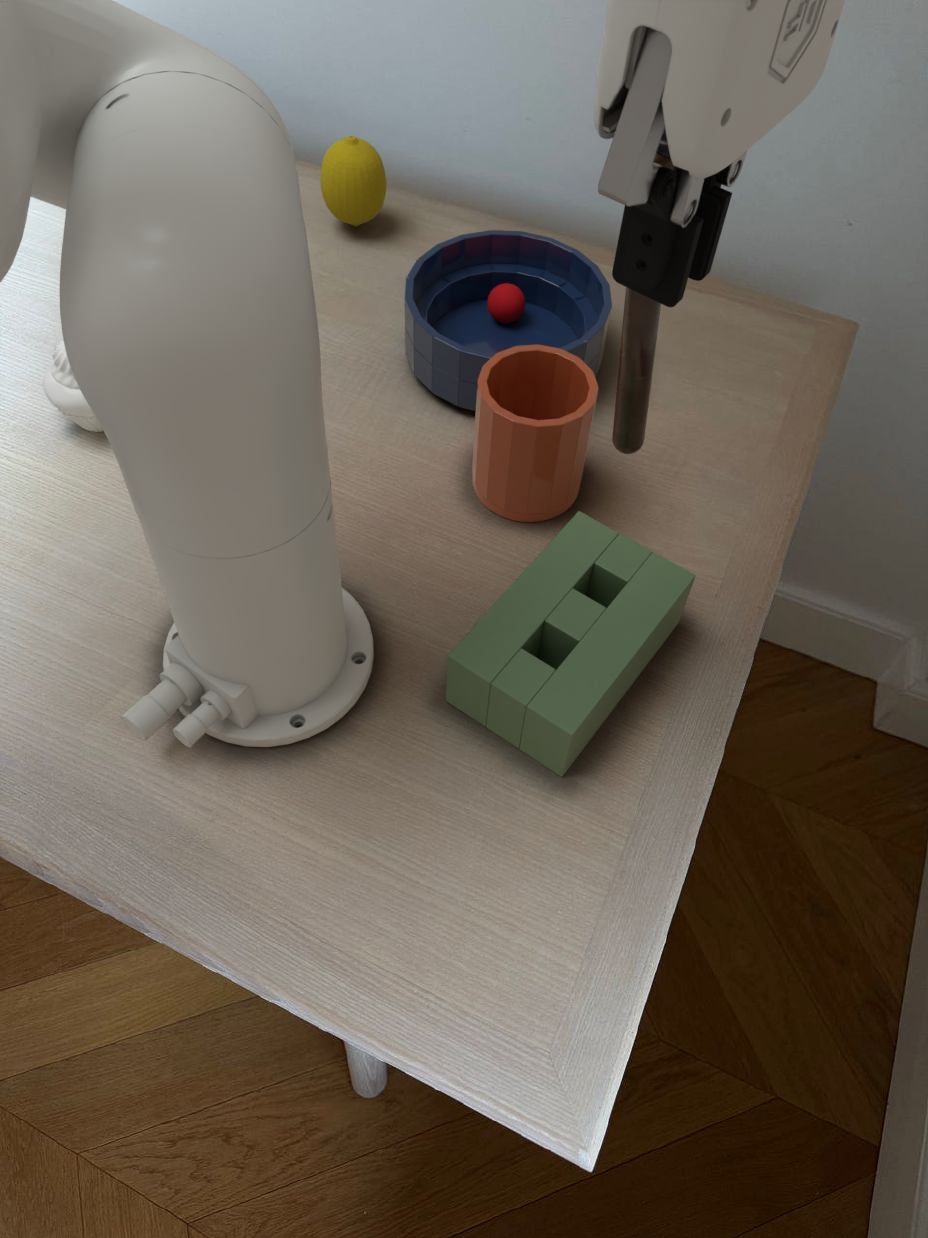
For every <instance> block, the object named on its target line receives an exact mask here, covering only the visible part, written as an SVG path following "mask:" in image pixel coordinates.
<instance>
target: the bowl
mask: <svg viewBox="0 0 928 1238" xmlns="http://www.w3.org/2000/svg"><path fill="white" fill-rule="evenodd" d="M504 283H509V284H513V285H515V286H517V287H518V288H519V289H520V290H521V291H522V292H523V294H524V297H525V309H524V312H523V314H522V315H521V316H520V318H518V319H517V320H516V321H514V322H511V323H501V322H498V321H496V320H495V319H494V318H493V317H492V316H491V315H490V313H489V310H488V306H487V301H488V297H489V294H490V292H491V291H492V290H493V289H494V288H495V287H496V286H498V285H500V284H504ZM612 309H613V299H612V292H611V285H610V283H609V281H608V279H607V277H605V275H604V273H603V271H602V270H601V269H600V267H599V265H598V264H596V263H595V262H593V261H592V260H591V259H590V258H589V257H588V256H586V255H585V254H584V253H583V252H581V251H580V250H578V249H577V248H575V247H573V246H570V245H568V244H566V243H565V242H562V241H560V240H557V239H555V238H553V237H550V236H545V235H541V234H536V233H532V232H527V231H523V230H504V229H503V230H501V229H500V230H499V229H488V230H483V231H476V232H470V233H463V234H460V235H457V236H454V237H452V238H450V239H447V240H444V241H442V242H439V243H436V244H435V245H434V246H432V247H431V248H430V249H429V250H427V251H426V252H425V253H423V254H422V255H420V256H419V257H418V258H417V259H416V261H415V262H414V264H413V266H412V267H411V269H410V271H409V272H408V274H407V275H406V277H405V287H404V343H405V345H404V347H405V348H404V349H405V350H404V352H405V356H406V359H407V361H408V364H409V366H410V368H411V371H412V373H413V375H414V376H415V377H416V378H417V379H418V380H419V381H420V383H422V384H423V385H424V386H425V387H426V388H427V389H428V390H429V391H430V392H431V393H432V394H434V395H436V396H437V397H439V398H440V399H443V400H445V401H446V402H449V403H450V404H452V405H454V406H456V407H459V408H462V409H466V410H469V411H474V412H476V397H477V381H478V378H479V375H480V372H481V369H482V366H483V365H484V364H485V363H486V362H487V361H488V360H490V359H491V358H492V357H493V356H494V355H495V354H497V353H498V352H501V351H504V350H506V349H509V348H512V347H514V346H523V345H544V346H549V347H555V348H560V349H563V350H565V351H567V352H569V353H571V354H573V355H575V356H577V357H579V358H580V359H581V360H582V361H583V362H584V363H585V364H586V365H587V366H588V367H589V368H590V369H591V370H592V371H593V372H594V375H595V378H596V377H597V375H598V372H599V370H600V367H601V365H602V362H603V358H604V353H605V352H604V351H605V346H606V341H607V335H608V331H609V325H610V320H611V315H612Z"/></svg>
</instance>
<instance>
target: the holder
mask: <svg viewBox="0 0 928 1238" xmlns="http://www.w3.org/2000/svg"><path fill="white" fill-rule="evenodd" d="M695 579H696V574H695V573H693V572H691V571H689V570H687V569H685V568H684V567H682V566H680V565H678V564H676V563H674V562H673V561H671V560H669V559H667V558H665V557H663V556H662V555H660V554H658V553H657V552H655V551H653V550H651V549H649V548H647V547H645V546H643V545H642V544H640V543H638V542H636V541H635V540H633V539H631V538H629V537H628V536H625V535H624V534H622V533H619V532H618V531H616V530H614V529H613V528H611V527H609V526H608V525H605V524H604V523H602V522H600V521H598V520H596V519H595V518H593V517H591V516H589V515H587V514H585V513H584V512H582V511H580V510H577V512H576V513H575V514H574V515H573V516H572V518H571V519H570V520H569V521H568V522H567V523H566V524H565V525H564V526H563V528H561V530H560V531H559V532H558V533H557V534H556V535H555V537H553V538H552V540H551V541H550V542H549V543H548V544H547V545H546V547H545V548H543V550H542V551H541V552H540V553H539V554H538V555H537V556H536V557H535V558H534V559H533V561H532V562H531V563H530V564H529V565H528V566H527V567H526V569H524V570H523V572H522V573H521V574H520V575H519V576H518V577H517V579H515V581H513V583H512V584H511V585H510V586H509V587H508V588H507V590H506V591H505V592H504V593H502V595H500V597H499V598H498V599H497V601H495V603H494V604H493V605H492V606H491V607H490V608H489V609H488V610H487V611H486V612H485V614H484V615H483V616H482V617H481V618H480V619H479V620H478V621H477V623H476V624H474V626H473V627H472V628H471V629H470V630H469V631H468V633H466V634H465V636H463V638H462V639H461V640H460V641H459V642H458V643H457V644H456V645H455V647H454V648H453V649H452V650H451V651H450V652H449V653H448V654H447V661H446V682H445V683H446V684H445V685H446V686H445V702H447V703H448V704H450V705H451V706H452V707H454V708H456V709H457V710H459V711H460V712H462V713H463V714H465V715H467V716H468V717H470V718H471V719H473V721H475V722H477V723H479V724H480V725H482V726H483V727H486V729H488V730H489V731H491V732H492V733H493V734H495V735H497V737H500V738H501V739H503V740H504V741H506V742H508V743H509V744H510V745H512V746H514V747H515V748H516V749H519V751H521V752H523V753H524V754H526V756H528V757H530V758H532V759H533V760H535V761H536V762H538V763H539V764H541V765H542V766H543V767H545V768H547V769H548V770H549V771H551V772H552V773H554V774H556V775H557V776H559V777H561V778H563V777H564V775H565V774H566V773H567V771H568V770H569V769H570V767H571V766H572V765H573V763H574V762H575V761H576V759H578V757H579V755H581V753H582V752H583V750H584V749H585V747H586V746H587V745H588V744H589V742H590V741H591V739H592V738H593V737H594V736H595V734H596V732H598V730H599V729H600V728H601V726H602V725H603V724H604V722H606V720H607V719H608V717H609V716H610V714H611V713H612V712H613V710H615V708H616V707H617V705H618V704H619V703H620V701H621V700H622V699H623V697H624V696H625V695H626V693H627V692H628V691H629V690H630V688H631V687H632V685H633V684H634V683H635V681H636V680H637V678H639V676H640V675H641V673H642V672H643V671H644V670H645V669H646V667H647V665H648V664H650V662H651V660H652V659H653V658H654V656H655V655H656V653H657V652H658V651H659V650H660V648H661V647H662V646H663V645H664V643H665V641H666V640H667V639H668V638H669V636H670V635H671V634H672V632H673V631H674V630H675V628H677V626H678V625H679V623H680V620H681V617H682V615H683V613H684V609H685V608H686V607H685V606H686V604H687V601H688V598H689V596H690V593H691V590H692V588H693V584H694V582H695Z"/></svg>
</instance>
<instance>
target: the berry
mask: <svg viewBox="0 0 928 1238" xmlns="http://www.w3.org/2000/svg"><path fill="white" fill-rule="evenodd" d="M487 306H488V310H489V313H490V315H491V316H492V317H493V318H494V319H495V320H496V321H498V322H501V323H511V322H514V321H516V320H517V319H518V318H520V316H521V315H522V314H523V312H524V309H525V297H524V294H523V292H522V291H521V290H520V289H519V288H518V287H517V286H515V285H513V284H509V283H504V284H500V285H498V286H496V287H495V288H494V289H493V290H492V291H491V292H490V294H489V297H488V301H487Z"/></svg>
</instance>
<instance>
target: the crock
mask: <svg viewBox="0 0 928 1238" xmlns="http://www.w3.org/2000/svg"><path fill="white" fill-rule="evenodd" d="M598 395H599V384H598V381H597V379H596V378H595V375H594V372H593V371H592V370H591V369H590V368H589V367H588V366H587V365H586V364H585V363H584V362H583V361H582V360H581V359H580V358H579V357H577V356H575V355H573V354H571V353H569V352H567V351H565V350H563V349H560V348H555V347H549V346H544V345H523V346H514V347H512V348H509V349H506V350H504V351H501V352H498V353H497V354H495V355H494V356H493V357H492V358H491V359H490V360H488V361H487V362H486V363H485V364H484V365H483V366H482V369H481V372H480V375H479V378H478V381H477V397H476V411H475V416H474V431H473V432H474V433H473V447H472V449H473V450H472V464H471V472H472V481H471V482H472V487H473V490H474V493H475V495H476V496H477V499H478V500H479V501H480V502H481V503H482V504H483V506H484V507H486V508H487V509H488V510H490V511H491V512H493V513H494V514H496V515H498V516H500V517H502V518H505V519H507V520H510V521H511V520H512V521H516V522H521V523H522V522H523V523H538V522H544V521H547V520H551V519H554V518H556V517H558V516H560V515H562V514H564V513H565V512H567V510H568V509H569V508H571V507H572V506H573V504H574V503H575V501H576V499H577V498H578V495H579V492H580V487H581V482H582V478H583V473H584V467H585V463H586V458H587V454H588V453H587V452H588V448H589V442H590V437H591V433H592V427H593V421H594V416H595V410H596V405H597V399H598Z"/></svg>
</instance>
